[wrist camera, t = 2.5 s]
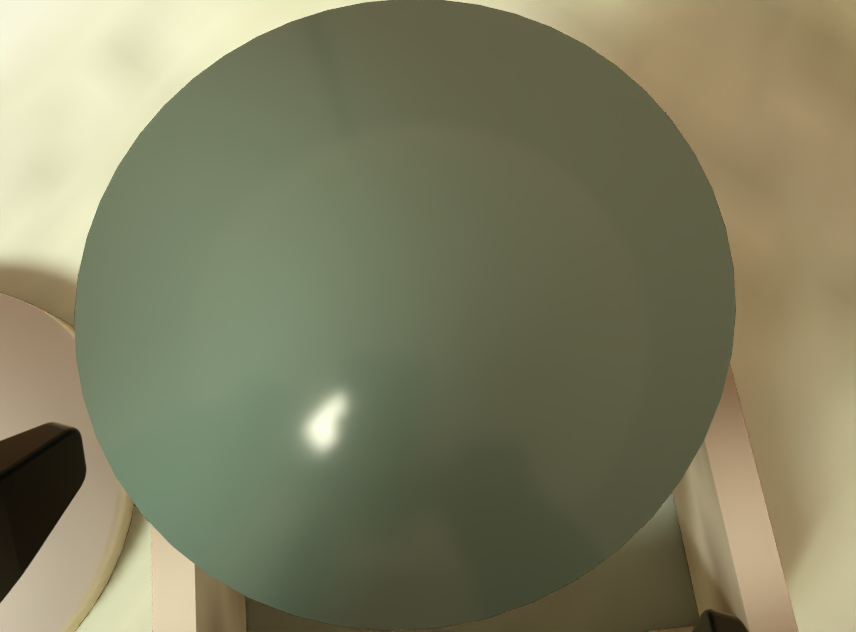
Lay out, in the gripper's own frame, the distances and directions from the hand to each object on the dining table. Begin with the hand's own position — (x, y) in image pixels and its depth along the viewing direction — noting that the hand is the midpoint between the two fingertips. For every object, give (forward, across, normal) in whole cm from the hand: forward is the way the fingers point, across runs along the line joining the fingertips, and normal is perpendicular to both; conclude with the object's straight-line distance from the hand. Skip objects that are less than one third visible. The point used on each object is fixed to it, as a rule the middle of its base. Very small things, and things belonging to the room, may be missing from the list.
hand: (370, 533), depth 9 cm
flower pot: (+9, 0, +5) cm, 10 cm away
